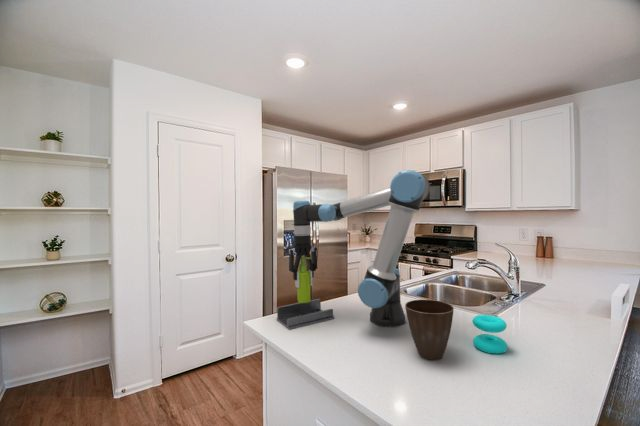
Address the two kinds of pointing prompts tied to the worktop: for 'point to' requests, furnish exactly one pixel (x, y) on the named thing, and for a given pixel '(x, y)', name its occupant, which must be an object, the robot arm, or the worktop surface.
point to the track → (303, 314)
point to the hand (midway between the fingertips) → (303, 286)
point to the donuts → (489, 341)
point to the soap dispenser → (303, 282)
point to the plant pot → (430, 326)
